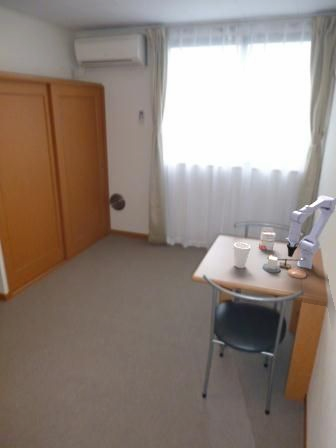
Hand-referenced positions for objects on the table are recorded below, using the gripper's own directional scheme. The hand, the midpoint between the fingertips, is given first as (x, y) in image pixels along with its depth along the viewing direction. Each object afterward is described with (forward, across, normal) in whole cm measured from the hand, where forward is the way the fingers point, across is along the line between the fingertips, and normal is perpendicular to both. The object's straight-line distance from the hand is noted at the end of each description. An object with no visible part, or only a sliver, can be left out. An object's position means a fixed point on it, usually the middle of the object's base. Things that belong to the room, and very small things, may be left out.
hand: (290, 254), depth 188 cm
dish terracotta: (+10, +3, +5) cm, 12 cm away
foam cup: (+11, +8, -27) cm, 30 cm away
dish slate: (+10, +3, -9) cm, 14 cm away
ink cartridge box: (+10, -27, -16) cm, 33 cm away
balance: (+10, -5, -2) cm, 12 cm away
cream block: (+10, +3, -9) cm, 13 cm away
